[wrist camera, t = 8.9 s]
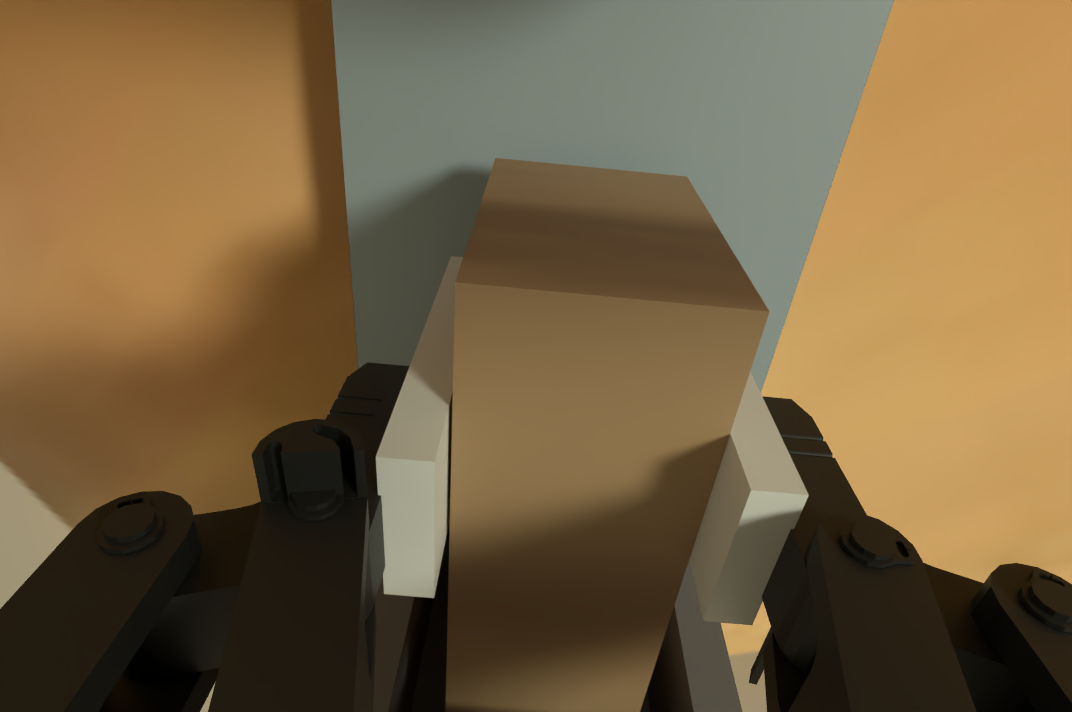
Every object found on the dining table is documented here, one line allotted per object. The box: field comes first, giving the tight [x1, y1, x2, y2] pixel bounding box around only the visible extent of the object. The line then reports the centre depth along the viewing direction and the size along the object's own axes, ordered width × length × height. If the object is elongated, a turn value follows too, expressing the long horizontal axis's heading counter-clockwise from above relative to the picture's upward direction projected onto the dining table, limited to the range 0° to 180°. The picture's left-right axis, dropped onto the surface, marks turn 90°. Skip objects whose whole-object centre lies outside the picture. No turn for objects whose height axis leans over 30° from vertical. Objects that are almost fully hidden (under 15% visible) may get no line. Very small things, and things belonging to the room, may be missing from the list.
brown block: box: [446, 158, 770, 712], centre depth 14 cm, size 12×4×6 cm, turn 175°
